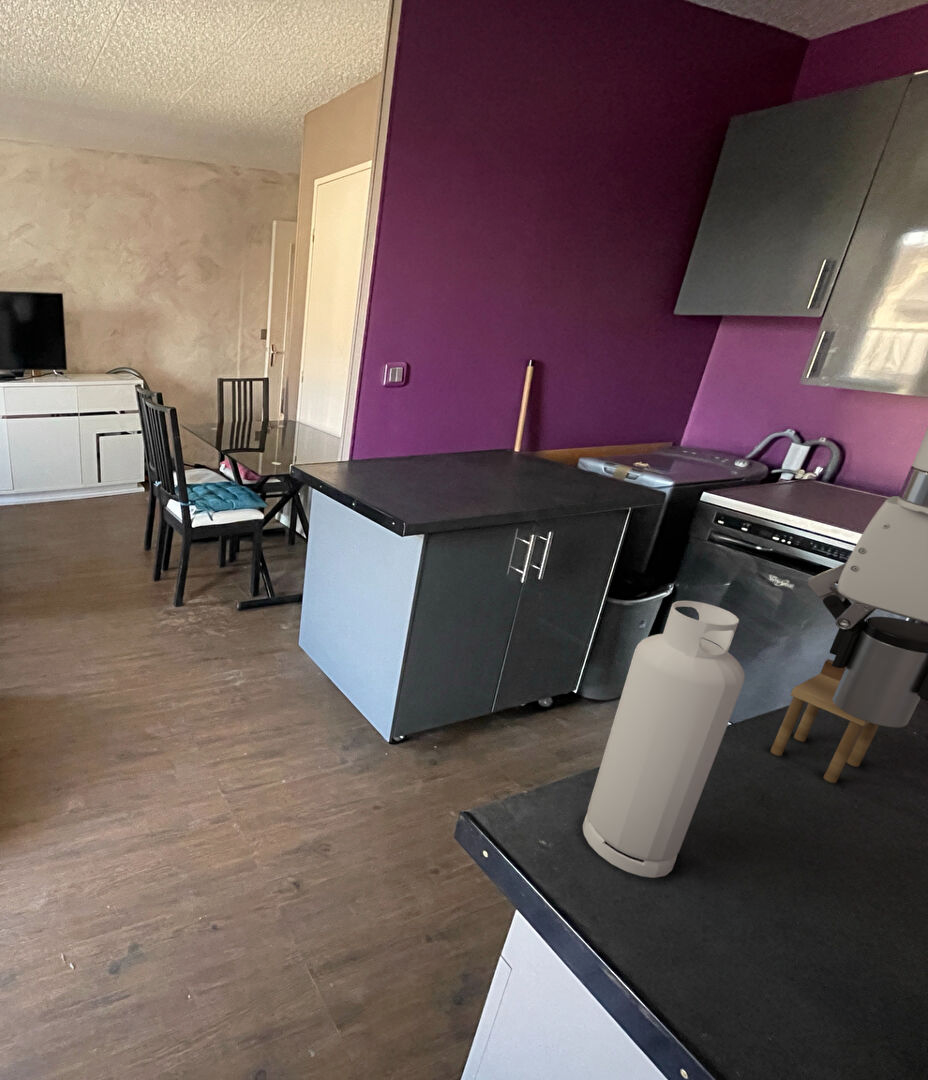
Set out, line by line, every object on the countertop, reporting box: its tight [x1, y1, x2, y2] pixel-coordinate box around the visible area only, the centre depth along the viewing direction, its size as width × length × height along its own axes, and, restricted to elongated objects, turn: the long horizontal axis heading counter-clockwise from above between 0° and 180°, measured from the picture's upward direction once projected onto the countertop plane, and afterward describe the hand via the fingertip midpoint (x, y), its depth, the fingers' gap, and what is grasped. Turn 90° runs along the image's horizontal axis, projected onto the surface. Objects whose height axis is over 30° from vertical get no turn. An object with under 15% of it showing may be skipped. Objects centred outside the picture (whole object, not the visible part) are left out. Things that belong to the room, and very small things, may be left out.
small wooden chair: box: [770, 658, 880, 784], centre depth 72 cm, size 8×7×12 cm
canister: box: [832, 616, 928, 728], centre depth 55 cm, size 5×5×9 cm
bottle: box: [582, 600, 746, 878], centre depth 57 cm, size 8×8×28 cm
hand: (884, 677), depth 55 cm, fingers closed on canister, 5 cm apart
